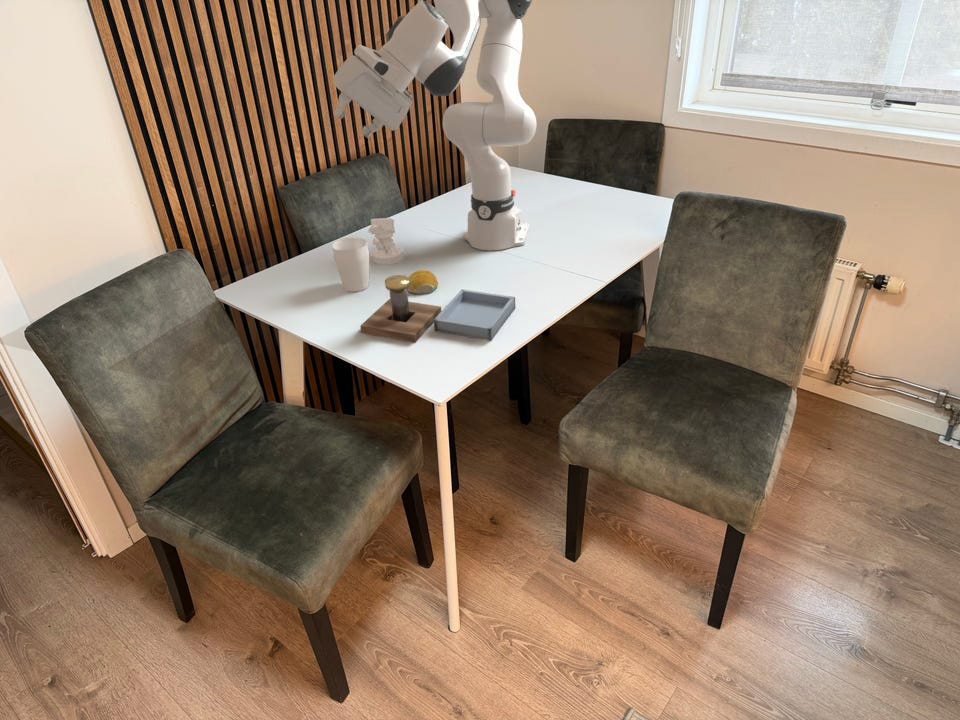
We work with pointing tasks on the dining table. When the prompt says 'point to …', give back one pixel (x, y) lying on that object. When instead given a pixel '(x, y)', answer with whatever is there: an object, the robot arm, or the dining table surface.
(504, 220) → the robot arm
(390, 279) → the pin
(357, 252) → the cup
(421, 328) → the socket block
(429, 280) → the bread roll
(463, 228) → the dining table surface
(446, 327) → the tray
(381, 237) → the character figurine
